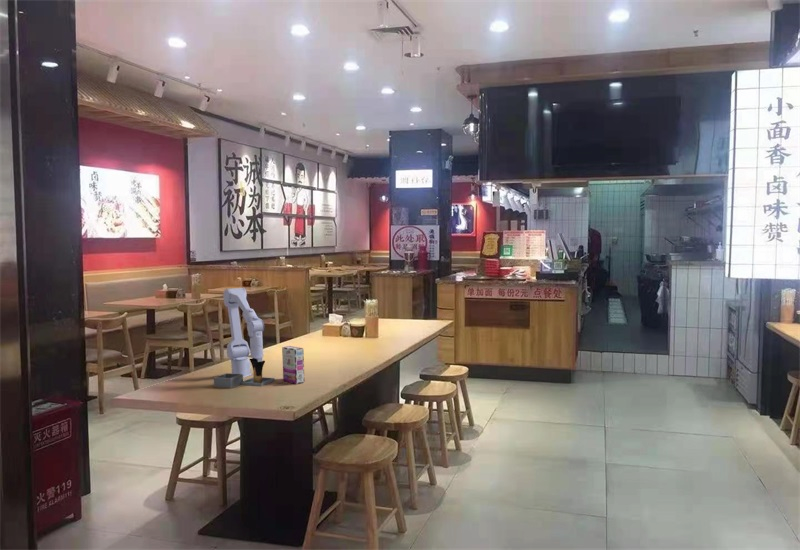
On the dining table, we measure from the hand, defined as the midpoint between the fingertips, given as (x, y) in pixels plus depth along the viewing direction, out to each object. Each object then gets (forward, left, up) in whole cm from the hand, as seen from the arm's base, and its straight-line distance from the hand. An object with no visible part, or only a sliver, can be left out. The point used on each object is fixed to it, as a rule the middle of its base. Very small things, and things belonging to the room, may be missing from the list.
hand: (257, 374), depth 286 cm
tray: (0, 0, -4) cm, 4 cm away
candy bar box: (-8, +15, -5) cm, 17 cm away
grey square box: (+8, -10, -4) cm, 14 cm away
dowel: (0, 0, -4) cm, 4 cm away
